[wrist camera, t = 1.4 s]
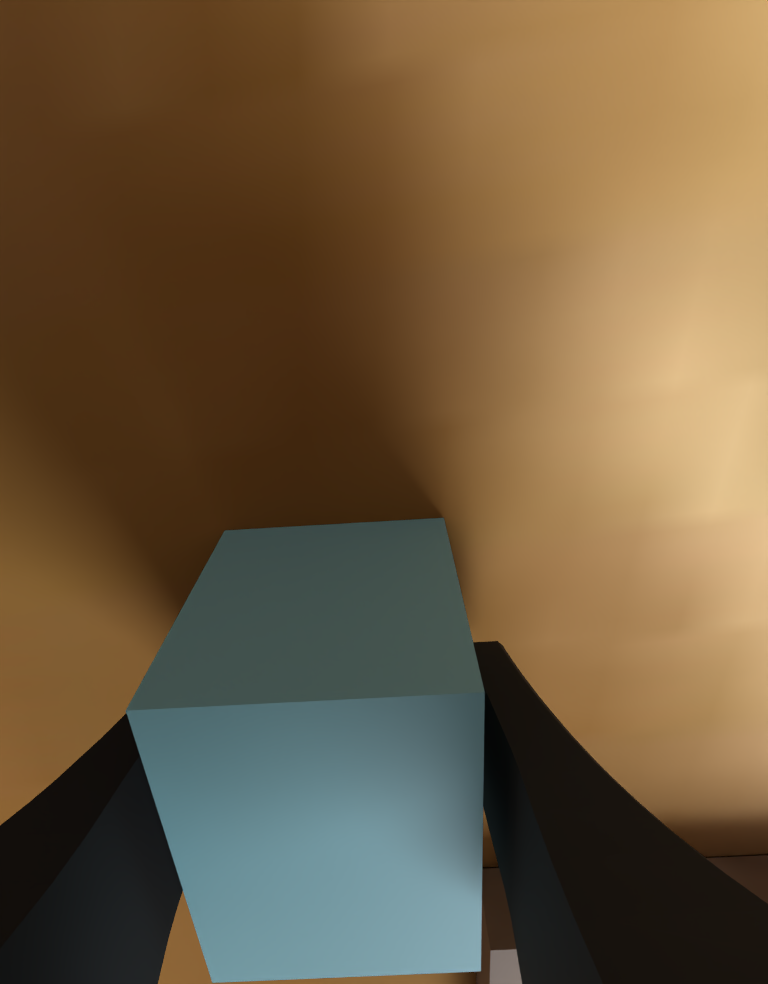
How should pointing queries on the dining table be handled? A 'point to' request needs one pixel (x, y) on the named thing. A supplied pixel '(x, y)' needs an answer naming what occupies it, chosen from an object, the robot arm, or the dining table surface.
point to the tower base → (497, 938)
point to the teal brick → (322, 754)
